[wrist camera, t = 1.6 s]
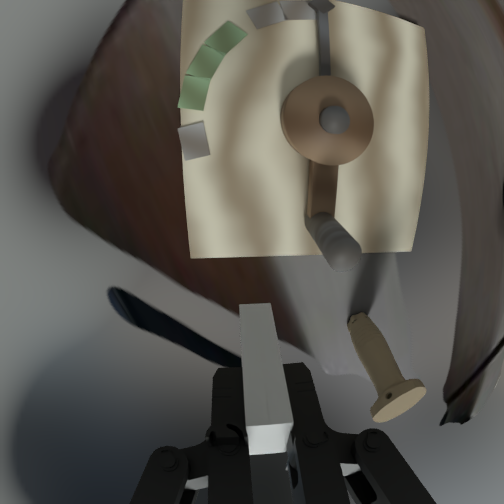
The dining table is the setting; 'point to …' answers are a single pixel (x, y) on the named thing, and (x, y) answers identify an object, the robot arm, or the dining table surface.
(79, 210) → the dining table surface
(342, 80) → the brown handled round piece
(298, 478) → the robot arm
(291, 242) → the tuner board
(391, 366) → the handle
